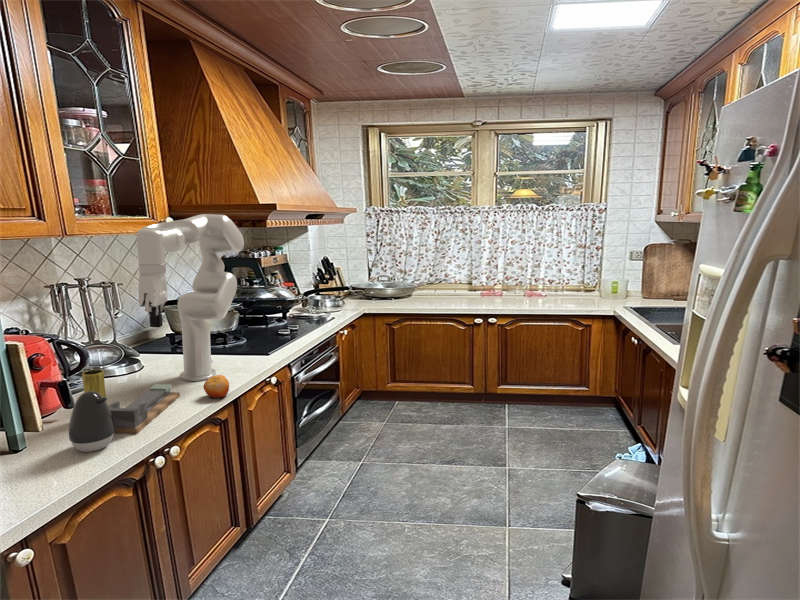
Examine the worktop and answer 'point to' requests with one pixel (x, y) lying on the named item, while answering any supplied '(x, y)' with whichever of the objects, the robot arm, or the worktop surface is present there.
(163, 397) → the stand
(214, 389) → the fruit
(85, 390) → the vase
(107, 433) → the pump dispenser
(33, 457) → the worktop surface
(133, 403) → the arm
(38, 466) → the worktop surface
